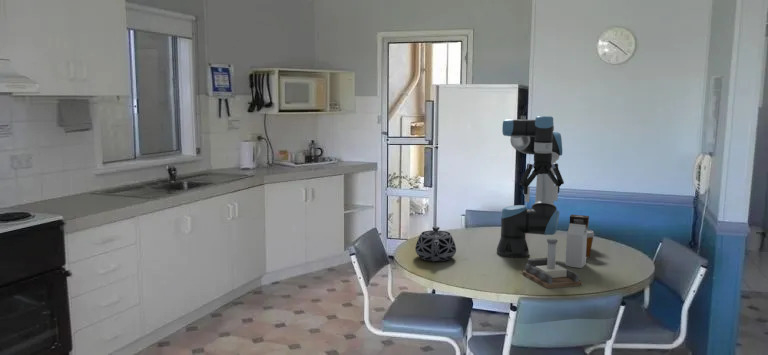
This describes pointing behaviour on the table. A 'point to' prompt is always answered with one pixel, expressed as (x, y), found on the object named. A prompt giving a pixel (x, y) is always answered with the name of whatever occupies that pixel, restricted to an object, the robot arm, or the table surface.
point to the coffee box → (579, 220)
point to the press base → (546, 279)
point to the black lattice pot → (435, 245)
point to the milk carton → (576, 245)
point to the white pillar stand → (552, 262)
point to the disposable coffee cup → (589, 242)
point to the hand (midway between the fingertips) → (541, 201)
